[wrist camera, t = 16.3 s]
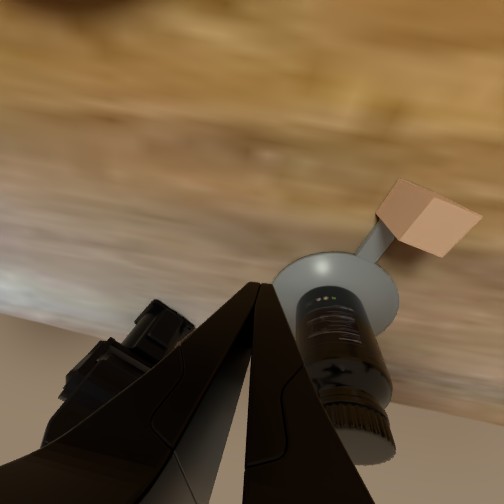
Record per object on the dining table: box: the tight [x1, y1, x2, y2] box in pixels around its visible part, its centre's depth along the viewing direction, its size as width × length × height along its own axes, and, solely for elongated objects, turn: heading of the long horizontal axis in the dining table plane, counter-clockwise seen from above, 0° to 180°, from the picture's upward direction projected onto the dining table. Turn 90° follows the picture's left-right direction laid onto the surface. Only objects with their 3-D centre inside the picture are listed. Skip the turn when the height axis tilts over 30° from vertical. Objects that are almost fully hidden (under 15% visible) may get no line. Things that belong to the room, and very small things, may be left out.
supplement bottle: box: [295, 285, 396, 466], centre depth 18 cm, size 7×7×12 cm
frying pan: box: [272, 178, 483, 338], centre depth 20 cm, size 16×18×5 cm
